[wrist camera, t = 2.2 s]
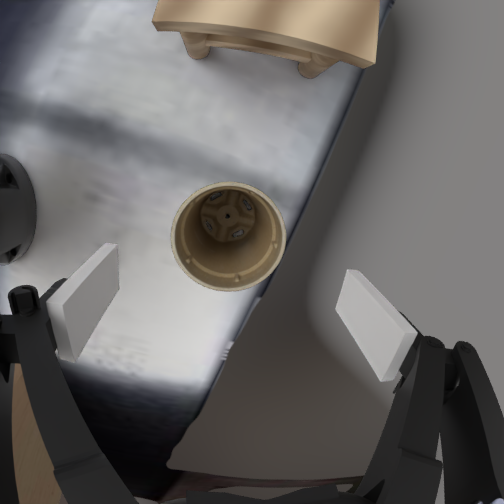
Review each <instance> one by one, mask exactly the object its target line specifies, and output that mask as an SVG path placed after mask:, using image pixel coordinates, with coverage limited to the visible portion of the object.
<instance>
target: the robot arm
mask: <svg viewBox="0 0 504 504" xmlns="http://www.w3.org/2000/svg"><path fill="white" fill-rule="evenodd" d="M35 226H36V203H35V197H34V192H33V188H32V185H31V182H30V180H29V177H28V175H27V173H26V172H25V170H24V168H23V167H22V166H21V164H20V163H19V162H18V161H17V160H16V159H14V158H13V157H11V156H9V155H6V154H0V266H4V265H8V264H10V263H12V262H14V261H15V260H16V259H18V258H19V257H21V256H22V255H23V254H24V253H25V252H26V251H27V249H28V248H29V246H30V244H31V242H32V239H33V236H34V232H35ZM118 290H119V273H118V244H112V243H105V244H104V245H103V246H102V247H100V248H99V249H98V250H97V251H96V252H95V253H94V254H93V255H92V256H91V257H90V258H89V259H88V260H87V261H86V262H85V263H84V264H83V265H81V266H80V267H79V268H78V269H77V270H76V271H75V272H74V273H73V274H72V275H71V276H70V277H69V278H68V279H66V278H63V279H61V280H59V281H57V282H55V283H54V284H53V285H52V286H51V287H50V288H49V289H48V290H47V291H46V293H44V294H43V295H42V296H41V297H40V298H39V296H38V291H37V289H36V288H35V287H33V286H30V285H22V286H18V287H16V288H14V289H12V290H11V291H10V292H9V294H8V299H9V303H10V307H11V311H12V315H1V314H0V504H20V503H19V497H18V491H17V485H16V478H15V469H14V459H13V443H12V397H13V382H14V371H15V363H16V364H20V365H21V369H22V374H23V378H24V382H25V386H26V390H27V394H28V397H29V401H30V404H31V408H32V411H33V414H34V417H35V420H36V423H37V426H38V429H39V432H40V434H41V437H42V440H43V442H44V445H45V447H46V450H47V452H48V455H49V457H50V459H51V462H52V464H53V466H54V470H53V473H54V476H55V479H56V481H57V483H58V485H59V487H60V489H61V491H62V493H63V494H64V497H65V498H66V500H67V502H68V504H139V503H138V502H137V501H136V499H135V498H134V497H133V495H132V494H131V493H130V491H129V490H128V489H127V487H126V486H125V484H124V483H123V482H122V480H121V479H120V477H119V476H118V474H117V473H116V471H115V470H114V468H113V467H112V465H111V464H110V462H109V461H108V459H107V458H106V456H105V455H104V454H103V453H102V451H101V450H100V448H99V446H98V445H97V443H96V441H95V440H94V438H93V436H92V434H91V432H90V431H89V429H88V427H87V425H86V423H85V421H84V419H83V417H82V415H81V413H80V411H79V409H78V407H77V405H76V403H75V401H74V399H73V396H72V394H71V392H70V390H69V387H68V385H67V383H66V380H65V378H64V375H63V373H62V370H61V368H60V365H59V363H58V360H57V357H56V355H55V350H56V349H57V350H58V354H59V357H60V359H62V360H66V361H70V362H74V363H76V361H77V359H78V357H79V355H80V353H81V352H82V350H83V348H84V346H85V345H86V343H87V341H88V339H89V338H90V336H91V334H92V332H93V331H94V329H95V327H96V326H97V324H98V322H99V321H100V319H101V317H102V316H103V314H104V312H105V311H106V309H107V307H108V306H109V304H110V303H111V301H112V299H113V298H114V296H115V295H116V293H117V292H118ZM335 310H336V311H337V313H338V314H339V316H340V317H341V319H342V321H343V322H344V324H345V325H346V327H347V328H348V330H349V332H350V333H351V335H352V336H353V338H354V340H355V341H356V343H357V344H358V346H359V348H360V349H361V351H362V352H363V354H364V355H365V357H366V359H367V360H368V362H369V364H370V365H371V367H372V368H373V370H374V372H375V373H376V375H377V377H378V378H379V380H380V382H384V381H392V380H394V378H395V376H396V375H397V373H398V371H400V372H401V374H402V375H403V376H402V377H401V379H400V381H399V383H398V384H397V386H396V388H395V390H394V391H393V393H395V392H396V394H395V397H394V400H393V404H392V406H391V410H390V412H389V416H388V418H387V421H386V424H385V427H384V429H383V432H382V435H381V437H380V440H379V443H378V445H377V448H376V450H375V453H374V455H373V458H372V460H371V462H370V464H369V466H368V469H367V471H366V473H365V475H364V477H363V479H362V482H361V484H360V486H359V487H358V489H357V491H356V492H355V493H354V494H352V493H347V492H340V491H338V490H337V487H336V484H330V485H324V486H318V487H312V488H304V489H300V490H297V491H294V492H292V493H289V494H286V495H282V496H279V497H276V498H272V499H269V500H261V499H255V498H249V497H244V496H239V495H234V494H229V493H219V492H200V491H188V490H186V498H182V499H176V500H171V501H167V502H164V503H161V504H435V500H436V496H437V492H438V487H439V483H440V479H441V474H442V468H443V470H444V493H445V504H504V417H503V414H502V411H501V409H500V406H499V403H498V400H497V398H496V395H495V393H494V390H493V388H492V385H491V383H490V380H489V378H488V376H487V373H486V371H485V369H484V366H483V364H482V362H481V360H480V358H479V356H478V354H477V352H476V350H475V348H474V347H473V346H472V345H471V344H469V343H468V342H464V341H459V342H457V343H456V345H455V346H454V348H453V349H446V348H445V346H444V344H443V343H442V342H441V341H440V340H438V339H437V338H435V337H431V336H423V335H422V334H421V333H420V332H419V331H418V330H417V328H416V327H415V326H414V325H412V323H411V322H410V321H409V320H408V319H407V318H406V317H405V316H404V314H402V313H401V312H399V311H398V310H396V308H394V306H393V305H392V304H391V303H390V302H389V301H388V300H387V299H386V298H385V297H384V296H383V295H382V294H381V293H380V292H379V291H378V290H377V289H376V288H375V287H374V286H373V285H372V284H371V283H370V282H369V281H368V280H367V279H366V278H365V277H364V276H363V275H362V274H361V273H360V272H359V271H358V270H350V269H347V272H346V275H345V279H344V282H343V286H342V289H341V293H340V296H339V299H338V302H337V306H336V309H335ZM439 433H440V437H441V445H442V456H443V463H442V462H441V461H439V460H436V459H435V457H436V451H437V445H438V439H439Z"/></svg>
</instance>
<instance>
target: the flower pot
mask: <svg viewBox="0 0 504 504" xmlns="http://www.w3.org/2000/svg"><path fill="white" fill-rule="evenodd" d="M216 193H221V194H222V195H221V196H219V197H217V198H216V199H214V200H211V197H212V196H213V195H214V194H216ZM244 200H245V201H247V202H248V204H249V205H250V207H251V210H247V207H246V205H245V204H244V202H243V201H244ZM227 214H228V215H230V217H229V218H226V215H227ZM207 221H208V223H209V224H211V228H212V230H210V229H209V228H208V226H207V225H206V222H207ZM240 230H243V234H241V235H239V236H236V237H233V234H234V233H236V232H238V231H240ZM285 245H286V229H285V224H284V221H283V218H282V216H281V213H280V211H279V210H278V208H277V206H276V205H275V204H274V202H273V201H272V200H271V199H270V198H269V197H268V196H267V195H265V194H264V193H263V192H261V191H260V190H258V189H256V188H254V187H252V186H250V185H247V184H243V183H238V182H220V183H215V184H211V185H208V186H206V187H203V188H201V189H200V190H198V191H196V192H195V193H194V194H192V195H191V196H190V197H189V198H188V199H187V200H186V201H185V202H184V203H183V204H182V205H181V207H180V208H179V210H178V212H177V214H176V216H175V218H174V221H173V225H172V229H171V246H172V250H173V254H174V256H175V259H176V261H177V263H178V264H179V266H180V268H181V269H182V270H183V271H184V272H185V273H186V274H187V276H189V277H190V278H191V279H192V280H193V281H195V282H197V283H198V284H200V285H202V286H204V287H207V288H210V289H213V290H217V291H239V290H244V289H247V288H250V287H252V286H255V285H256V284H258V283H260V282H261V281H263V280H264V279H265V278H267V277H268V276H269V275H270V274H271V273H272V272H273V270H274V269H275V268H276V267H277V265H278V264H279V262H280V260H281V258H282V256H283V253H284V250H285Z"/></svg>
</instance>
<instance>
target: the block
mask: <svg viewBox="0 0 504 504" xmlns="http://www.w3.org/2000/svg"><path fill="white" fill-rule="evenodd" d="M12 443H13V459H14V469H15V478H16V485H17V491H18V497H19V503H20V504H59V501H60V497H61V493H62V491H61V489H60V487H59V485H58V483H57V481H56V479H55V476H54V473H53V470H54V466H53V464H52V462H51V459H50V457H49V455H48V452H47V450H46V447H45V445H44V442H43V440H42V437H41V434H40V432H39V429H38V426H37V423H36V420H35V417H34V414H33V411H32V408H31V404H30V401H29V397H28V394H27V390H26V386H25V382H24V378H23V374H22V369H21V365H20V364H16V363H15V371H14V382H13V397H12Z"/></svg>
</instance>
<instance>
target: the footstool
mask: <svg viewBox="0 0 504 504" xmlns="http://www.w3.org/2000/svg"><path fill="white" fill-rule="evenodd" d="M379 3H380V0H159V1H158V3H157V6H156V9H155V13H154V16H153V19H152V23H153V24H154V26H155V28H156V29H157V31H178V32H180V34H181V36H182V39H183V41H184V44H185V47H186V49H187V52H188V54H189V56H190V57H191V58H193V59H203V58H205V57H206V56H207V55H208V54H209V52H210V46H213V47H222V48H230V49H237V50H244V51H250V52H256V53H262V54H267V55H272V56H277V57H282V58H286V59H290V60H295V61H299V62H300V63H299V65H298V70H299V72H300V74H301V75H302V76H304V77H306V78H314V77H316V76H318V75H319V74H320V73H322V72H323V71H325V70H326V69H328V68H329V67H331V66H332V65H334V64H335V63H337V62H338V61H343V62H346V63H349V64H352V65H354V66H357V67H360V68H363V69H364V68H367V67H369V66H371V65H373V64H375V62H376V50H377V39H378V24H379Z"/></svg>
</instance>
